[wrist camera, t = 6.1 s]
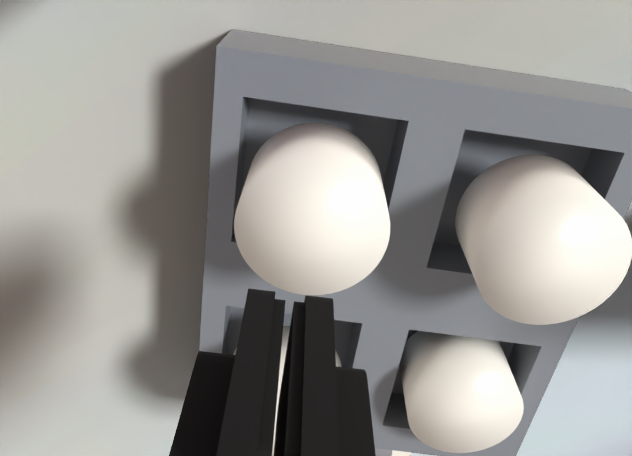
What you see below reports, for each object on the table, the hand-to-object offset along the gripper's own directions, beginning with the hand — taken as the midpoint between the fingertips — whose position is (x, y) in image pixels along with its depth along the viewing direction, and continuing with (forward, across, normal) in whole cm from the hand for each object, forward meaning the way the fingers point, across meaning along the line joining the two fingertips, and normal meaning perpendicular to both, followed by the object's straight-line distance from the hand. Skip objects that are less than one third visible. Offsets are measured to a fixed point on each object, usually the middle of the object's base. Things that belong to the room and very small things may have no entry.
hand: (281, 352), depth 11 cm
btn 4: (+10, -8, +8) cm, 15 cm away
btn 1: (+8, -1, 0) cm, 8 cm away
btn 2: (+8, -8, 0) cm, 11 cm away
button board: (+11, -4, +4) cm, 13 cm away
